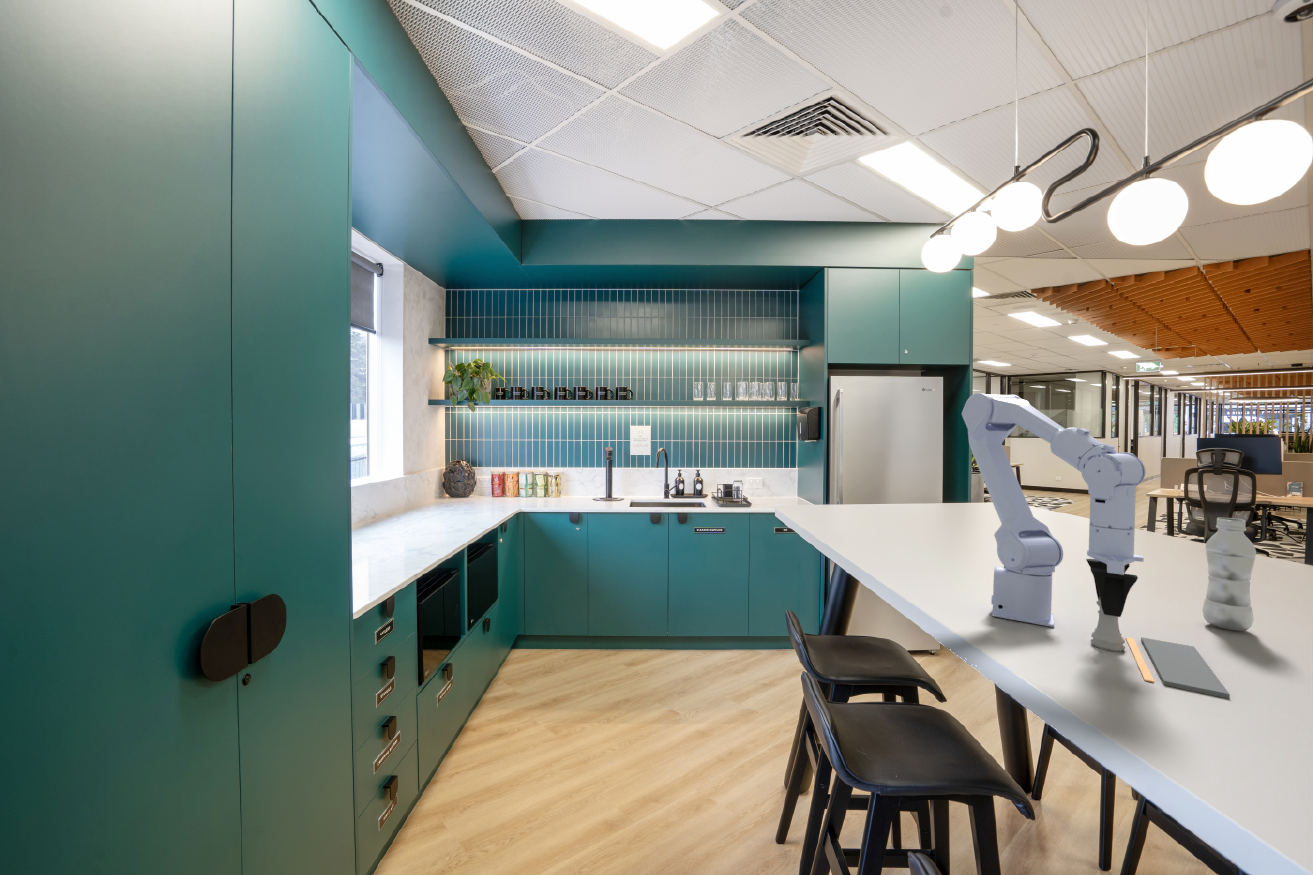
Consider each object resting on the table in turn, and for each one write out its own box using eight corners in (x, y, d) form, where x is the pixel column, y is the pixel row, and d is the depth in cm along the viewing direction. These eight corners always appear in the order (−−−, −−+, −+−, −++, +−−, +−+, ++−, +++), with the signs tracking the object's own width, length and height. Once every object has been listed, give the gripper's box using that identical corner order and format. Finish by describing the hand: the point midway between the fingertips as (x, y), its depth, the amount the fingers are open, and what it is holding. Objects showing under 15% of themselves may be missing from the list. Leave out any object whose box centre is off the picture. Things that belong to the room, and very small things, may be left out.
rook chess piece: (1131, 653, 88) (1133, 603, 87) (1100, 650, 88) (1101, 601, 88) (1114, 643, 92) (1116, 595, 92) (1084, 640, 93) (1086, 593, 93)
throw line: (1144, 680, 78) (1144, 679, 78) (1125, 638, 94) (1125, 636, 94) (1154, 682, 77) (1154, 681, 77) (1133, 639, 94) (1133, 638, 94)
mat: (1163, 684, 77) (1163, 680, 77) (1140, 640, 93) (1141, 637, 93) (1229, 698, 73) (1229, 694, 73) (1193, 650, 89) (1193, 646, 89)
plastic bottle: (1237, 624, 102) (1241, 517, 102) (1263, 637, 96) (1267, 523, 95) (1193, 620, 104) (1197, 515, 104) (1216, 632, 98) (1220, 520, 98)
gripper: (1151, 536, 82) (1149, 626, 82) (1136, 523, 94) (1134, 602, 94) (1091, 530, 86) (1089, 617, 86) (1084, 519, 98) (1082, 595, 98)
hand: (1109, 609), depth 90 cm, fingers open, 7 cm apart
